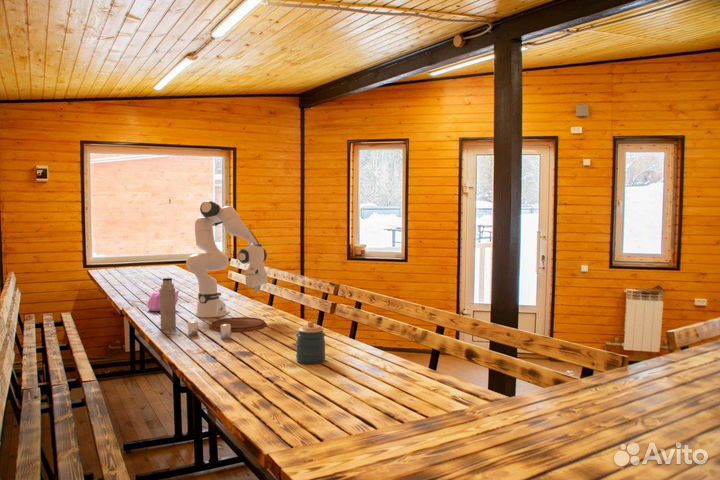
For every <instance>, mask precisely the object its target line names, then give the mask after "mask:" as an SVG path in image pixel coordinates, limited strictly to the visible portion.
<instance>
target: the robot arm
mask: <svg viewBox="0 0 720 480" xmlns="http://www.w3.org/2000/svg"><path fill="white" fill-rule="evenodd" d="M199 212H200V213H201V215H202V216H200V217H197V218H196V219H195V220H194V234H195V235H194V236H195V243H196V244H195V245H196V246H197V248H198V249H200V250H201V251H204V252H205V253H194V254H191V255H188V257H187V258H186V261H185V263H186V264H185V265H186V267H187V270H189V271H190V272H192V273H193V274H194V275H195V277H196V279H197V283H198V295H197V298H198V301H197V302H196V303H197V305H196V312H195V316H196V317H198V318H217V317H220V318H221V317H223V316H225V315H228V314H229V313H230V310H228V309H227V308H226V307H227V306H226V303H225V302H224V301H223V300H221V299H220V296H222V292H218V280H217V279H216V278H215V277H213V276H211V275H208V272H210V271H211V272H213V271H214V272H215V271H217V272H218V271H222V270H226V269H227V267H228V266H229V263H230V261H229V257H228V256H227V254H225V253H224V252H222V251H221V250H220V249H219V248H218V247H217V245H216V241H215V237H214V229H213V227H217V226H219V225H221V224H223V227H224V229H225V231H226V232H227V233H228V234H229V235H231V236H234V237H238V238H240V239H243V240H245V241H246V243H247V244H248V246H247V247H245V248H241V249H240V250H239V252H238V255H237V256H238V257H237V258H238V261H239V262H240V263H241V264H244V265H248V268H247V269H246V270H244V273H245V286H246V287H247V288H253V290H254V294H259V293H261V288H262V287H261V285H266V284H268V273H267V270H266V269H265V261H266V260H267V256H268V253H267V251H266V249H265V248H264V246H263V244H262V243H260V241H259V240H258V238H256V235H254V232H252V230H251V229H250V228H249V227H248V226H247V225H246V224H244V223H245V222H244V221H242V219H241V217H240V216H239V213H238V212H237V211H236V209H235V208H234V206H232V205H225V206H224V207H221V206H220V205H219V204H217V202H215V201H212V200H205V201H203V202H202V203H201V205H200V208H199Z"/></svg>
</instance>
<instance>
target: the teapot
mask: <svg viewBox="0 0 720 480" xmlns="http://www.w3.org/2000/svg"><path fill="white" fill-rule="evenodd" d="M180 291H181V289H180V290H175V305H176V304H177V303H178V301H179V292H180ZM146 306H147V308H148V309H149V311H152V312H160V288H158V291H154V292H152V293H151V295H150V297H149V299H148V300H147V305H146Z"/></svg>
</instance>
